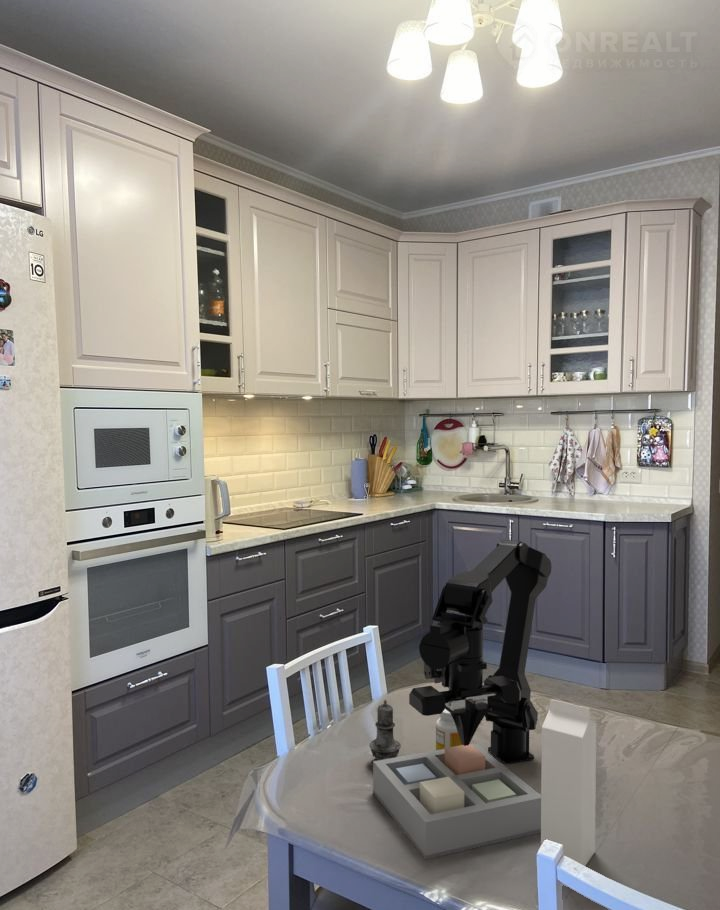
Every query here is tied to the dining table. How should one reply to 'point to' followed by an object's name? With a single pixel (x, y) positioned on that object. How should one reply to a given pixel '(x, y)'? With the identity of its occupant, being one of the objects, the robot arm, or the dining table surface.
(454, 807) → the key cream
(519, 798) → the keypad
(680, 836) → the dining table surface
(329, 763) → the dining table surface
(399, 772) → the key slate
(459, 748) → the key terracotta
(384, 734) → the grey chess piece
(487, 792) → the key sage
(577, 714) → the milk
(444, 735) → the supplement bottle
